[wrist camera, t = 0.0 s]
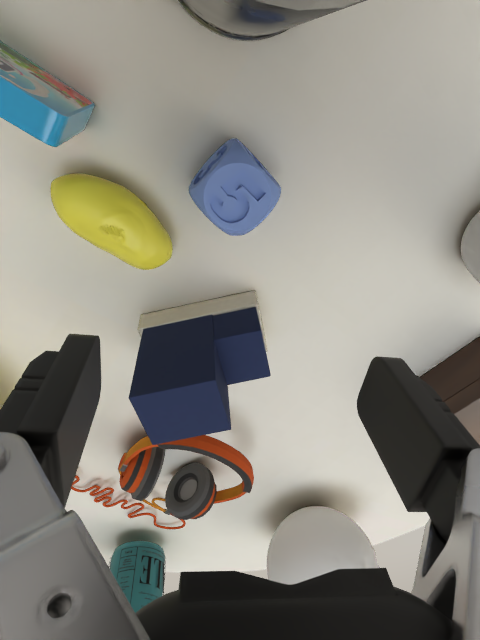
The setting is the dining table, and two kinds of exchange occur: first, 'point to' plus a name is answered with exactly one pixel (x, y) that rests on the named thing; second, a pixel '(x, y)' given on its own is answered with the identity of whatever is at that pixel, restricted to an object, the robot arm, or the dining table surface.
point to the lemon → (111, 219)
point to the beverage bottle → (139, 571)
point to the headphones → (178, 477)
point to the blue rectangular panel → (39, 100)
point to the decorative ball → (317, 546)
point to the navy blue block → (196, 365)
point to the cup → (472, 247)
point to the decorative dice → (234, 189)
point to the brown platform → (460, 385)
